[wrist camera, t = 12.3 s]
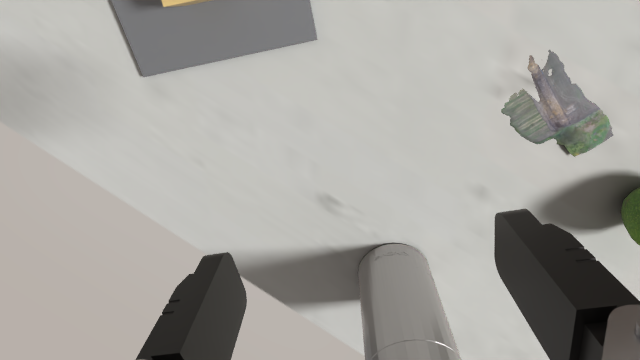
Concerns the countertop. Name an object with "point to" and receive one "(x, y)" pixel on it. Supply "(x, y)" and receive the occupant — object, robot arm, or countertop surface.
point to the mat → (210, 30)
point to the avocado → (632, 214)
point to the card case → (180, 2)
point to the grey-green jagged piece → (557, 111)
